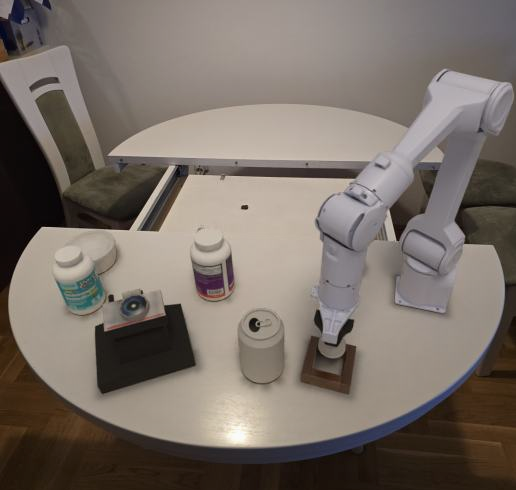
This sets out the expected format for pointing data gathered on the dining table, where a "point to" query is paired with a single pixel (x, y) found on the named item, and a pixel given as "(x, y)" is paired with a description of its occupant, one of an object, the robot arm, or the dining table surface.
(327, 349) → the rook chess piece
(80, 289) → the pill bottle
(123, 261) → the dining table surface
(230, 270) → the pill bottle
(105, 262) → the ramekin
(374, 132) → the dining table surface
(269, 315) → the can
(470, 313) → the dining table surface
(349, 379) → the holder
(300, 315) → the dining table surface
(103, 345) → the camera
